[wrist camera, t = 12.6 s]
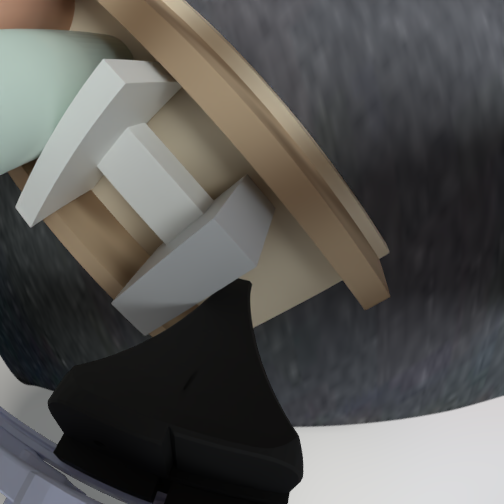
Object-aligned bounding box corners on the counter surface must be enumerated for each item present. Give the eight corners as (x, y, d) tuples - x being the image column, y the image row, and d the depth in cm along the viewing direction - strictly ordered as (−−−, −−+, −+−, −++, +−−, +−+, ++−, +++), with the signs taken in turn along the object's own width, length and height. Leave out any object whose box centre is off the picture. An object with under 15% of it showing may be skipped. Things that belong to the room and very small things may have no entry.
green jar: (158, 75, 10) (-37, 98, 3) (96, 157, 12) (-59, 244, 5) (93, 15, 9) (-78, 12, 2) (42, 96, 11) (-106, 144, 4)
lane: (385, 243, 12) (406, 298, 9) (215, 337, 17) (194, 392, 13) (80, -78, 6) (32, -95, 3) (-15, 63, 11) (-63, 73, 7)
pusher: (288, 199, 11) (275, 254, 8) (175, 279, 14) (135, 341, 10) (170, 63, 9) (103, 58, 6) (79, 172, 12) (15, 207, 9)
